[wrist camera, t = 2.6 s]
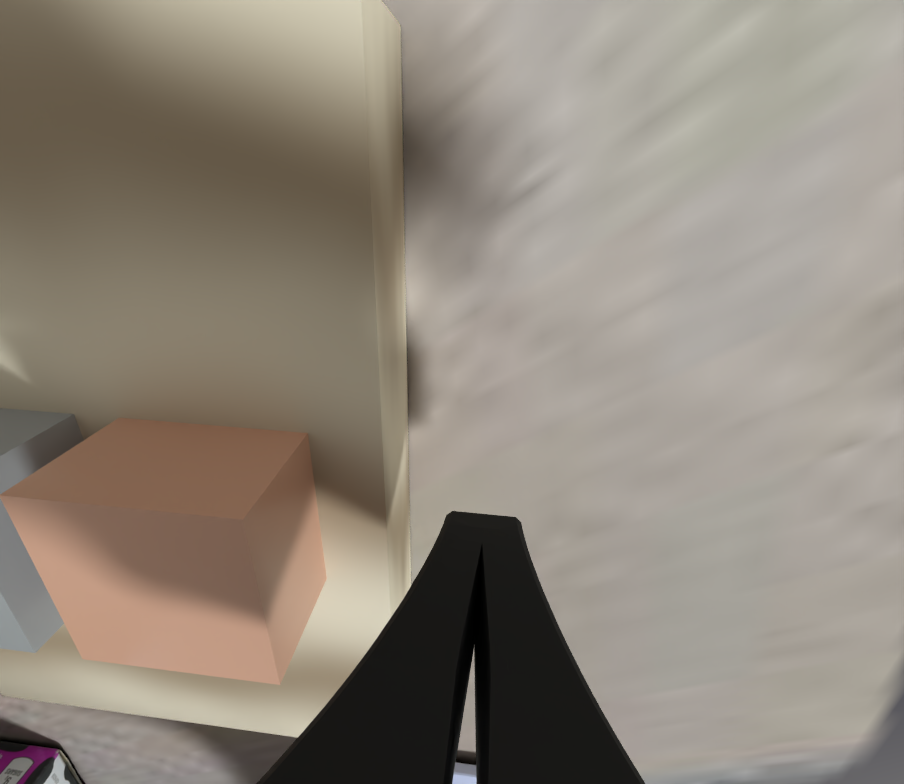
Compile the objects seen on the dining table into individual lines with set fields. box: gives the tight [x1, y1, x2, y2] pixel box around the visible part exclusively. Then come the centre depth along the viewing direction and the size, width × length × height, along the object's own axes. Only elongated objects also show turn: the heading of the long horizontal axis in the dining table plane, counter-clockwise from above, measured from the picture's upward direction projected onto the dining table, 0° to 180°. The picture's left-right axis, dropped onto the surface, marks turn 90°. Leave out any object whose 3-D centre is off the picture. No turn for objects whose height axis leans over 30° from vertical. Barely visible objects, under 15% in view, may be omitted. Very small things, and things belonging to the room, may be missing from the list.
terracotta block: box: [0, 418, 327, 685], centre depth 9 cm, size 4×4×2 cm
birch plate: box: [0, 0, 411, 738], centre depth 12 cm, size 18×13×2 cm
